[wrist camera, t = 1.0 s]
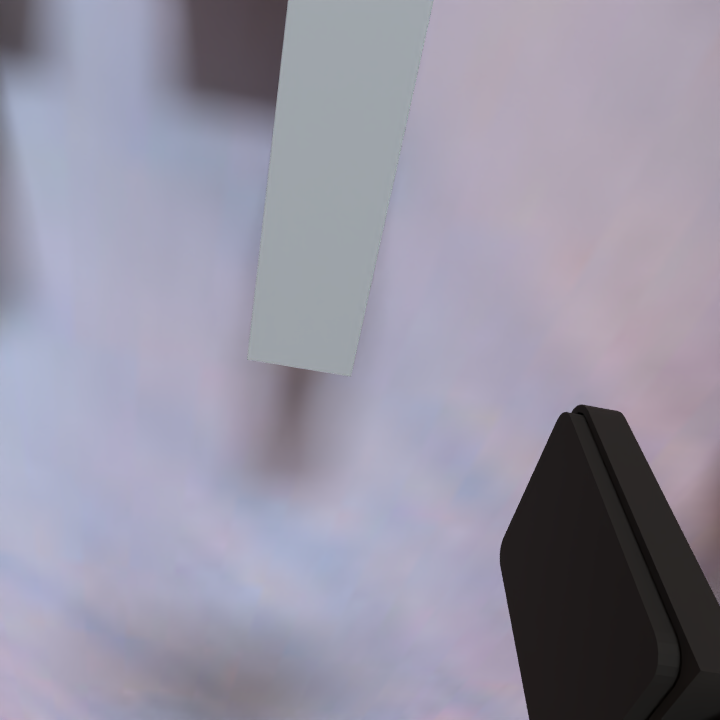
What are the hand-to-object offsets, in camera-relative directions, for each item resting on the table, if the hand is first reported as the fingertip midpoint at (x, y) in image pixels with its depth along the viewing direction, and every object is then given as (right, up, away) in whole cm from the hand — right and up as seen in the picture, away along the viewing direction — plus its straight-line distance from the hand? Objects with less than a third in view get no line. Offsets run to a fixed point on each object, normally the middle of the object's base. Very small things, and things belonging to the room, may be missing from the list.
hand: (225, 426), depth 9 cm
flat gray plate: (+1, +11, +17) cm, 21 cm away
